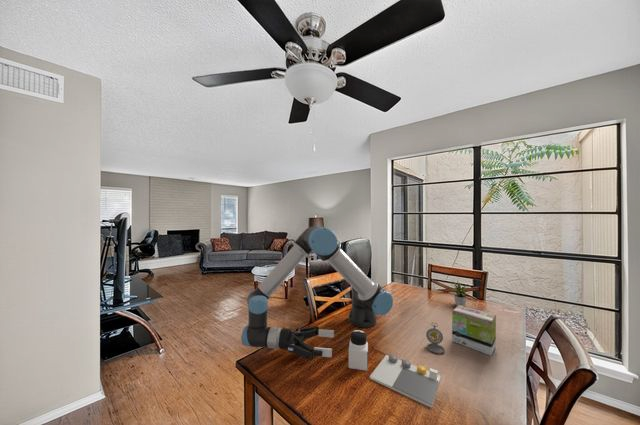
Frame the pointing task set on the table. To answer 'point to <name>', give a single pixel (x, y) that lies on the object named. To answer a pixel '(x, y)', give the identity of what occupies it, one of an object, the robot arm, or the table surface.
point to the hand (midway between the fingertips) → (333, 342)
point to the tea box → (474, 329)
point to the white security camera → (358, 351)
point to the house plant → (459, 294)
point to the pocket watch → (435, 340)
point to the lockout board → (407, 379)
